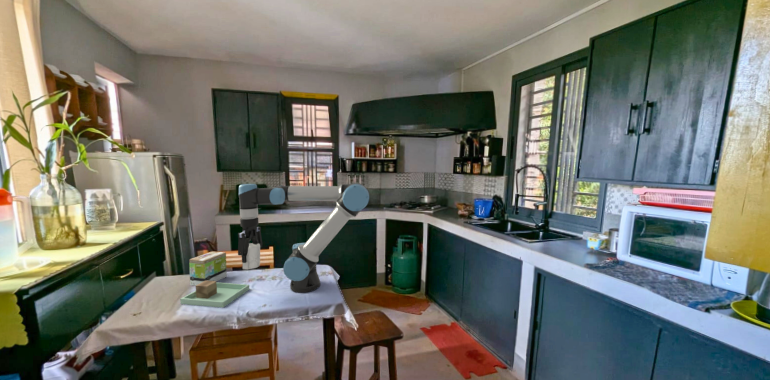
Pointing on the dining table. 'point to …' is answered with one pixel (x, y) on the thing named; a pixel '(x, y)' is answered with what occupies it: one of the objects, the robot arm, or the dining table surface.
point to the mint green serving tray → (217, 295)
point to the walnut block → (206, 289)
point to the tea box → (207, 267)
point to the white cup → (254, 255)
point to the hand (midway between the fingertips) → (251, 265)
